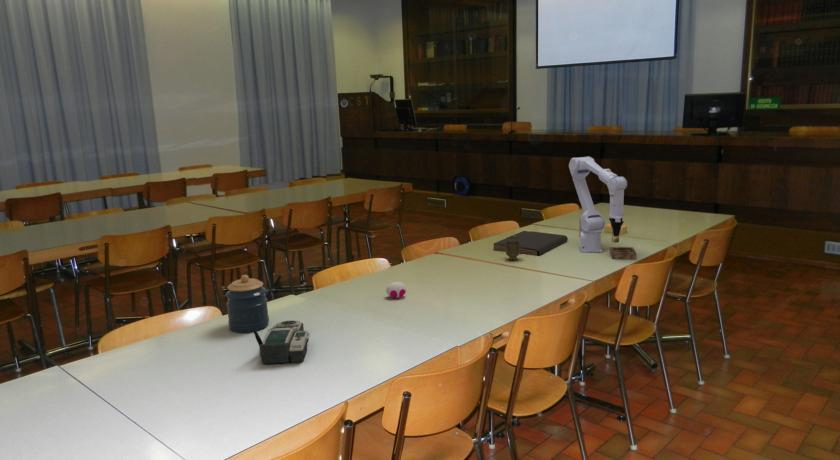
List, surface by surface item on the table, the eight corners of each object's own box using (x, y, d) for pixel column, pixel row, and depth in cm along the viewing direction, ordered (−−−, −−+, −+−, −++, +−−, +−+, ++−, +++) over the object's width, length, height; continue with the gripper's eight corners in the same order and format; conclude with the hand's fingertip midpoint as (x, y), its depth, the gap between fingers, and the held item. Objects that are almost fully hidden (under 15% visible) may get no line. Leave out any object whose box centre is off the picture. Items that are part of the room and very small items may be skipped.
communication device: (315, 329, 203) (313, 298, 201) (306, 364, 176) (303, 329, 174) (271, 332, 202) (268, 301, 200) (254, 367, 175) (251, 331, 173)
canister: (253, 317, 216) (249, 267, 212) (277, 324, 207) (273, 273, 204) (220, 328, 206) (215, 276, 202) (244, 336, 198) (239, 283, 194)
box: (612, 259, 274) (612, 252, 273) (609, 253, 284) (609, 247, 283) (636, 259, 272) (636, 252, 272) (632, 253, 282) (632, 247, 281)
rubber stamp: (604, 232, 328) (604, 209, 325) (609, 230, 332) (609, 208, 329) (622, 234, 321) (623, 211, 319) (627, 232, 325) (627, 209, 323)
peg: (612, 242, 274) (612, 224, 273) (611, 240, 278) (611, 223, 276) (619, 242, 274) (620, 224, 272) (618, 240, 277) (619, 223, 275)
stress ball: (388, 308, 230) (389, 297, 225) (384, 291, 235) (384, 280, 230) (408, 305, 232) (409, 294, 227) (403, 288, 237) (404, 277, 232)
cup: (520, 257, 282) (520, 240, 280) (521, 261, 275) (521, 244, 273) (504, 257, 283) (504, 240, 281) (504, 261, 276) (504, 244, 274)
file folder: (523, 229, 323) (567, 235, 309) (523, 237, 324) (567, 243, 310) (492, 242, 297) (539, 249, 283) (492, 251, 298) (539, 257, 284)
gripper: (628, 207, 265) (627, 238, 267) (624, 202, 278) (623, 231, 281) (610, 207, 266) (610, 238, 269) (607, 202, 280) (607, 231, 283)
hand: (615, 235), depth 275 cm, fingers closed on peg, 3 cm apart
